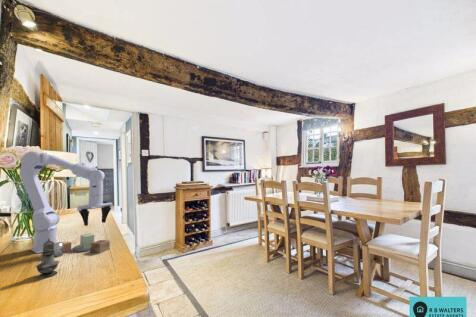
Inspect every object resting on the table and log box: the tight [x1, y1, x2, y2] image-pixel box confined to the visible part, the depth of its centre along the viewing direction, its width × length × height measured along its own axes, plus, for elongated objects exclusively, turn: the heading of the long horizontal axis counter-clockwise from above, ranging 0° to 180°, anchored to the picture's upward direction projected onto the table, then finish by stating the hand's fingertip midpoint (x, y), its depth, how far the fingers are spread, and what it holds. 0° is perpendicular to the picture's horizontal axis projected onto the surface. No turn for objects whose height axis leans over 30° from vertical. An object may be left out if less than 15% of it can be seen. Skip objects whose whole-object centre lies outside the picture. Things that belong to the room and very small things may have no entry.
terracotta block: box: [62, 240, 72, 253], centre depth 97 cm, size 4×6×4 cm, turn 150°
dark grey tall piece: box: [35, 239, 60, 280], centre depth 75 cm, size 6×6×12 cm
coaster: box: [72, 244, 91, 253], centre depth 101 cm, size 10×10×1 cm
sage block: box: [79, 232, 95, 248], centre depth 101 cm, size 4×4×5 cm
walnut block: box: [89, 239, 111, 254], centre depth 98 cm, size 5×5×4 cm
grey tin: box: [54, 241, 64, 259], centre depth 92 cm, size 4×4×5 cm
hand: (95, 223), depth 106 cm, fingers open, 7 cm apart
